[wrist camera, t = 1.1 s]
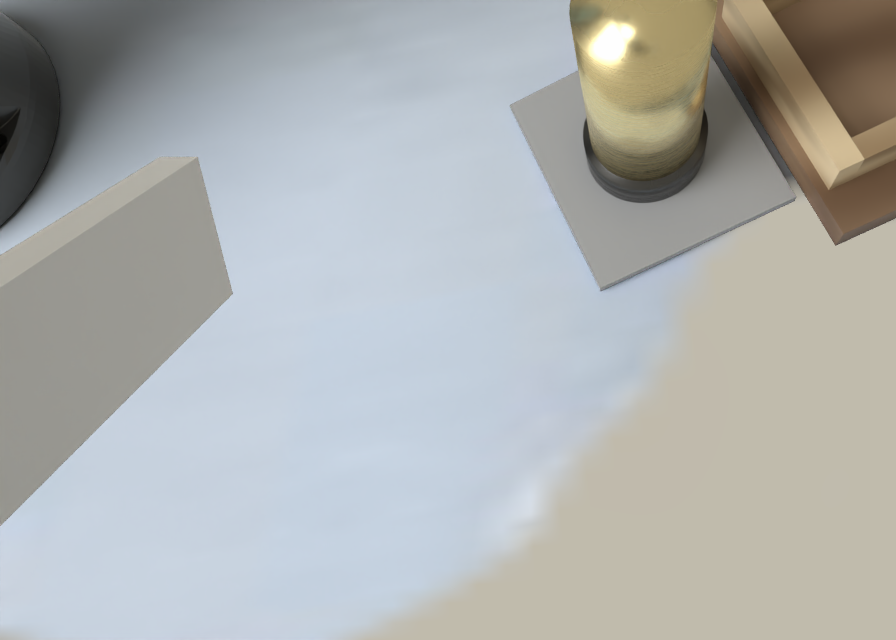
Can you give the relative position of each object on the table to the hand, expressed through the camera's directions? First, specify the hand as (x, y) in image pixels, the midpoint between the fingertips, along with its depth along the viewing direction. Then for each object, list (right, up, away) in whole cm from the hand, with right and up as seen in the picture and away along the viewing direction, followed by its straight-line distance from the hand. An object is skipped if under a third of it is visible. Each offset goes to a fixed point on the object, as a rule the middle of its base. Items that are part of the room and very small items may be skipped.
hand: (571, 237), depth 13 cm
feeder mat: (+7, +6, +24) cm, 26 cm away
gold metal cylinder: (+7, +6, +23) cm, 25 cm away
